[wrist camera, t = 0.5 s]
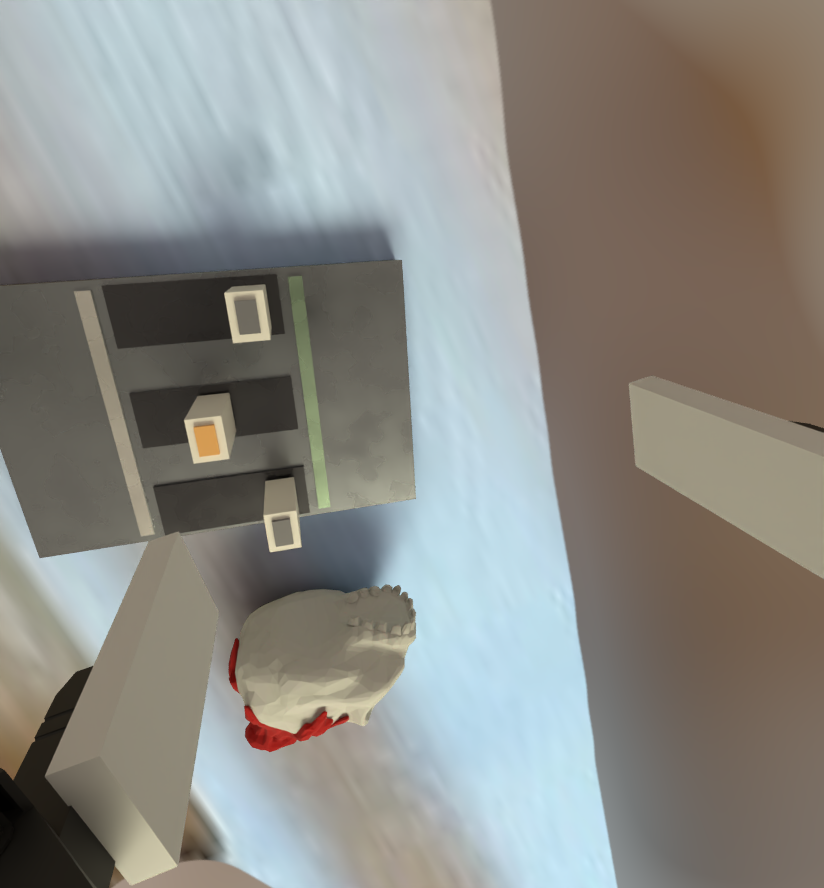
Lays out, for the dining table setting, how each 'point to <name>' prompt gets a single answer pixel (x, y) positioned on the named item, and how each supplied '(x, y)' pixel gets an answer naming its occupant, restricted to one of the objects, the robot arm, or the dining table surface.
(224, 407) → the breaker mid
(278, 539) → the breaker far
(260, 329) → the breaker near
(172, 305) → the panel
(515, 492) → the dining table surface
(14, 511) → the dining table surface
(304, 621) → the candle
